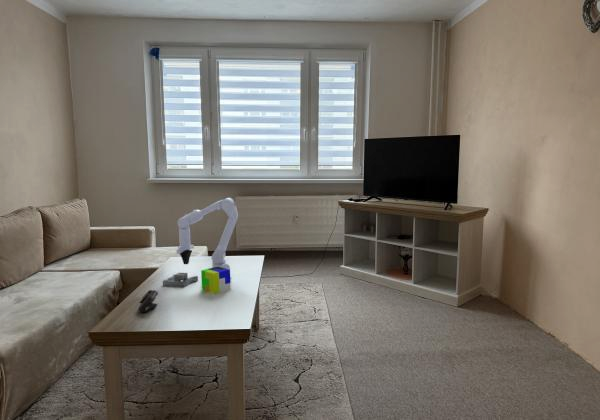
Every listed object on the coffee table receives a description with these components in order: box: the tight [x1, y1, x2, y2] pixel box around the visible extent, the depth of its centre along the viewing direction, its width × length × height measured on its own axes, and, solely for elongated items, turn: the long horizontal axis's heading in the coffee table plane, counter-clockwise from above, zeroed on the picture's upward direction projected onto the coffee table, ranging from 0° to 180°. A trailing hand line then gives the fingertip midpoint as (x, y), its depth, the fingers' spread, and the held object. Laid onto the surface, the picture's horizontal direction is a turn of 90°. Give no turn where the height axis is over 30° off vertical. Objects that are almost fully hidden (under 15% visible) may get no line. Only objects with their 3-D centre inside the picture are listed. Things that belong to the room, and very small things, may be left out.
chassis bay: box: [162, 273, 199, 288], centre depth 218 cm, size 13×15×3 cm
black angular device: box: [137, 289, 159, 314], centre depth 179 cm, size 12×8×7 cm
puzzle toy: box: [200, 267, 232, 295], centre depth 206 cm, size 10×10×10 cm
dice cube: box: [173, 272, 189, 281], centre depth 218 cm, size 5×5×5 cm
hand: (186, 264), depth 224 cm, fingers closed
